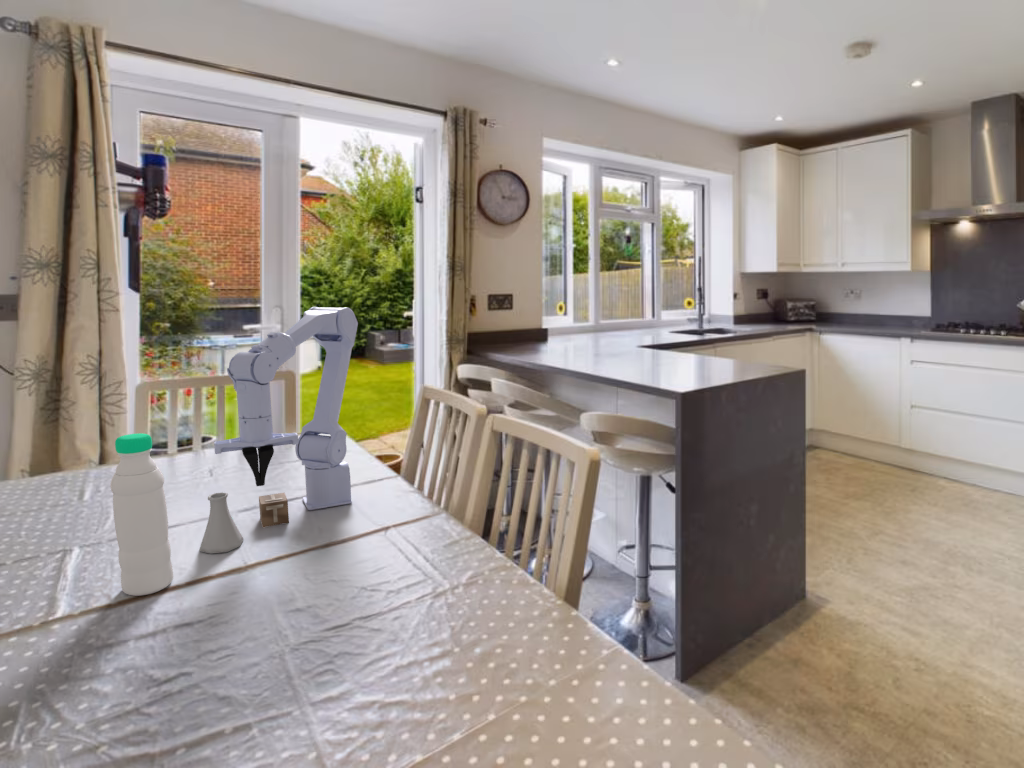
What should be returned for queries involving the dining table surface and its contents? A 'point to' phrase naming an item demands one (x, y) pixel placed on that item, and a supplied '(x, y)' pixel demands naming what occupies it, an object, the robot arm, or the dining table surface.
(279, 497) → the lettered block
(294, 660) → the dining table surface
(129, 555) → the water bottle
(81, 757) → the dining table surface
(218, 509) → the flask
